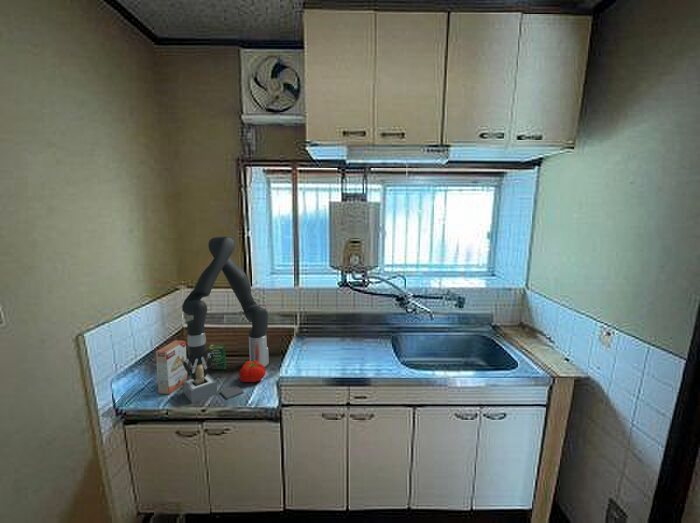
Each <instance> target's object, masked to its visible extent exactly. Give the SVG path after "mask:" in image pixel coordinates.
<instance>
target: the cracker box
mask: <svg viewBox="0 0 700 523" xmlns="http://www.w3.org/2000/svg"><path fill="white" fill-rule="evenodd" d="M186 343H187V342H186V341H185V340H178V339H177V340H176V339H175V340H173V341H171V342H169V344H166V345H164V346H163V347H161V348H159V349H157V350H155V362H156V375H157V388H158V389H157V390H158V394H162V395H171V394H172V393H173V392H174V391H175V390H177V389H178V388H179V387H181V386H182V385H183V381H186V380H189V379H188V372H187V371H186V370H185V368H184V366H183V364H182V361H183V360H184V361H185V360H186V359H187V346H186Z"/></svg>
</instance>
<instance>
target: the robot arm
mask: <svg viewBox="0 0 700 523" xmlns="http://www.w3.org/2000/svg"><path fill="white" fill-rule="evenodd" d="M235 245H236V244H235V241H234V240H233V239H232V238H231V237H229V236H216V237H215V236H214V237H212V238H210V240H209V241H208V244H207V246H208V249H209V250H208V251H209V252H210V253H211V256H212V257H213V259H212V261H211V262H210V263H209V264H208V266H207V267H206V268H205V269H204V270H203V271H202V273H201V274H200V275H199V277H198V280H197V282H196V284H195V286H194V288H193V289H192V291H191V292H190V293H189V294H188V296H186V298H185V299H184V301H183V303H182V312H183V313H184V314H185V315H189V316H193V319H190V320H189V321H188V322H187V324H186V325H187V328H186V329H187V350H188V351H187V352H188V355H187V358H186V360H185V361H184V360H183V361H182V364H183V366H184V368H185V370H186V371H187V374H190V379H193V380H196V375H195V368H196V366H197V365H198V364H202V363H203V368H204V377H206V375H207V374H208V368H209V367H210V366H211V363H212V360H213V356H214V354H212V353H209V352H207V338H206V331H205V329H206V327H205V323H206V318H207V313H208V305H207V304H206V302H205V301H204V300H202V299H203V298H205V297H206V298H207V297H209V296H210V294H211V292H212V290H213V288H214V285H215V284H216V280H217V278H218V277H219V275H220V274H221V272H222V273H223V275H224V276H225V278H226V280H227V282H228V284H229V286H230V288H231V290H232V291H233V293H234V294H235V297H236V298H237V300H238V302H239V304H240V306H241V308H242V312H243V314H244V316H245V318H246V319H247V320H248V322H250V323H252V324H251V329H249V330H248V350H249V361H251V362H252V361H258V362H259V363H261V364H262V365H263V366H264V368H265V367H266V366H267V365H269V364H270V362H269V361H270V360H269V359H270V356H269V353H270V352H269V347H268V345H267V344H268V343H267V331H268V326H269V324H268V323H269V314H268V311H267V309H266V308H264V307H262V306H260V305H258V304H257V302H256V301H255V299H254V298H253V296H252V288H251V287H252V286H251V282H250V280H249V278H248V277H247V274H246V273H245V271H244V270H243V269H242V268H241V267H240V266H238V264H237V263H235V261H233V259H232V258H231V255H233V253H234V250H235V248H236V246H235ZM206 359H207V360H206ZM189 362H190V367H189V366H188V365H189Z"/></svg>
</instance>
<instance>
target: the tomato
mask: <svg viewBox="0 0 700 523" xmlns="http://www.w3.org/2000/svg"><path fill="white" fill-rule="evenodd" d="M241 366H242V367H241V368H240V370H239V372H238V377H239V379H240V381H241V382H243V383H250V382H251V383H255V382H259V381H260V380H263V379H264V378H265V376H266V368H265V367H264V366H263V365H262V364H261V363H259V362H258V361H252V362H251V361H250V360H247V361H246V362H245V363H244V364H243V365H241Z"/></svg>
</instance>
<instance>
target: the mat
mask: <svg viewBox="0 0 700 523" xmlns="http://www.w3.org/2000/svg"><path fill="white" fill-rule="evenodd" d="M219 393H220V394H221V396H223V397H224V398H225V399H226V400H230V399H232V398H235V397H237V396H241V395H242V394H244V393H245V391H244V390H243V389H242V388H241V387H239V385H238V384H235V385H231V386H230V387H227V388H224V389H222V390H219ZM229 398H230V399H229Z"/></svg>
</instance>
